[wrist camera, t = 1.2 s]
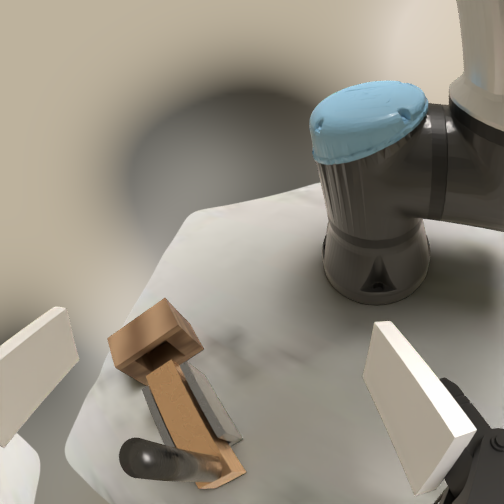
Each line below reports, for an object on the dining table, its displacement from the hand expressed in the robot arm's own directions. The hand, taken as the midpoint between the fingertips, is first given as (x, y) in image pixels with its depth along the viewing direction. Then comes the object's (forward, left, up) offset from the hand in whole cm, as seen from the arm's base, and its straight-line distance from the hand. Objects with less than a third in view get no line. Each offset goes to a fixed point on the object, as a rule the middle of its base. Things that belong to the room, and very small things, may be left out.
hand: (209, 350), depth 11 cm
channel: (+10, -8, -23) cm, 26 cm away
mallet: (+10, -7, -22) cm, 25 cm away
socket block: (+10, -19, -23) cm, 32 cm away
